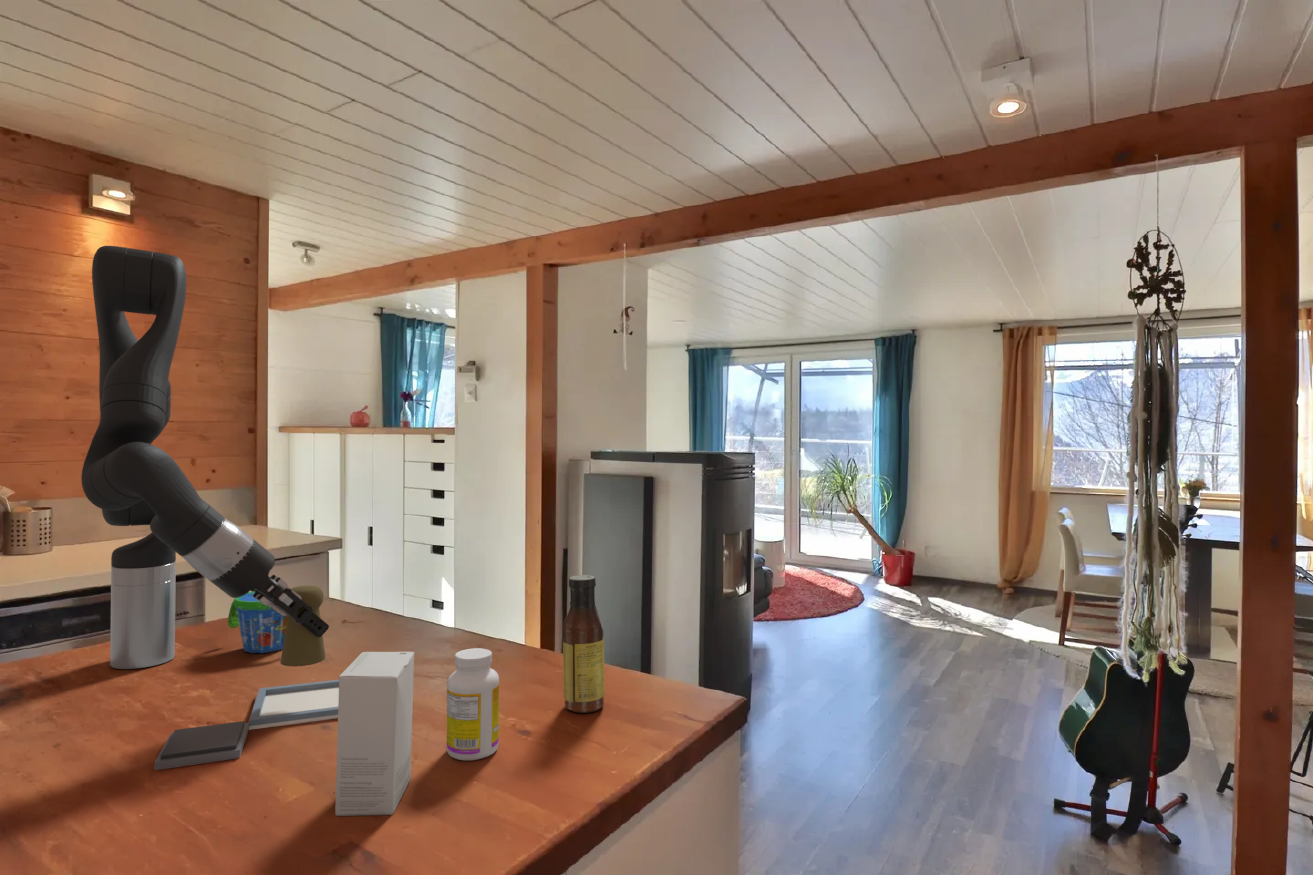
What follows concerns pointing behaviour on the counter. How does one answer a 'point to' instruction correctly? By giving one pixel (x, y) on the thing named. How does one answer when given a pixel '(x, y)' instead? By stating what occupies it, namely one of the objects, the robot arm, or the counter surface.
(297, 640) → the olive tapered round piece
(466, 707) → the supplement bottle
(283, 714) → the blank framed board
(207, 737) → the ink pad
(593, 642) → the sauce bottle
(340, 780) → the skincare box
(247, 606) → the snack cup
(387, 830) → the counter surface
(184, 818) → the counter surface
